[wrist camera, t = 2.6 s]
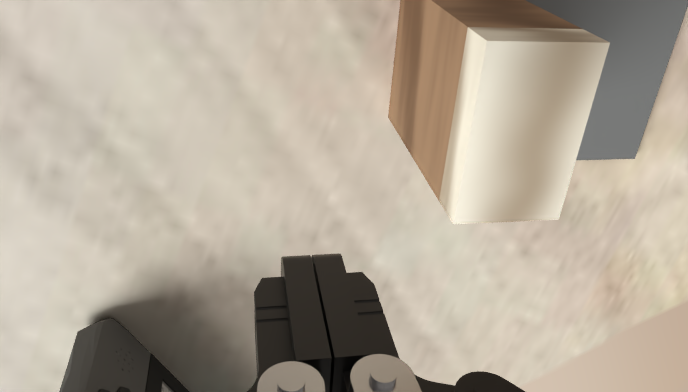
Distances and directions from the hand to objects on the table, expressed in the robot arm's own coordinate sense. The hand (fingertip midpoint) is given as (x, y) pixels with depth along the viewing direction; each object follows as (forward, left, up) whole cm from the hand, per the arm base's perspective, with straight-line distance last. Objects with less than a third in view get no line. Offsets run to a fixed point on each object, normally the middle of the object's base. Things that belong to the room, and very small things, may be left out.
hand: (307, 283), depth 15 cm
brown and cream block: (+10, 0, -20) cm, 23 cm away
